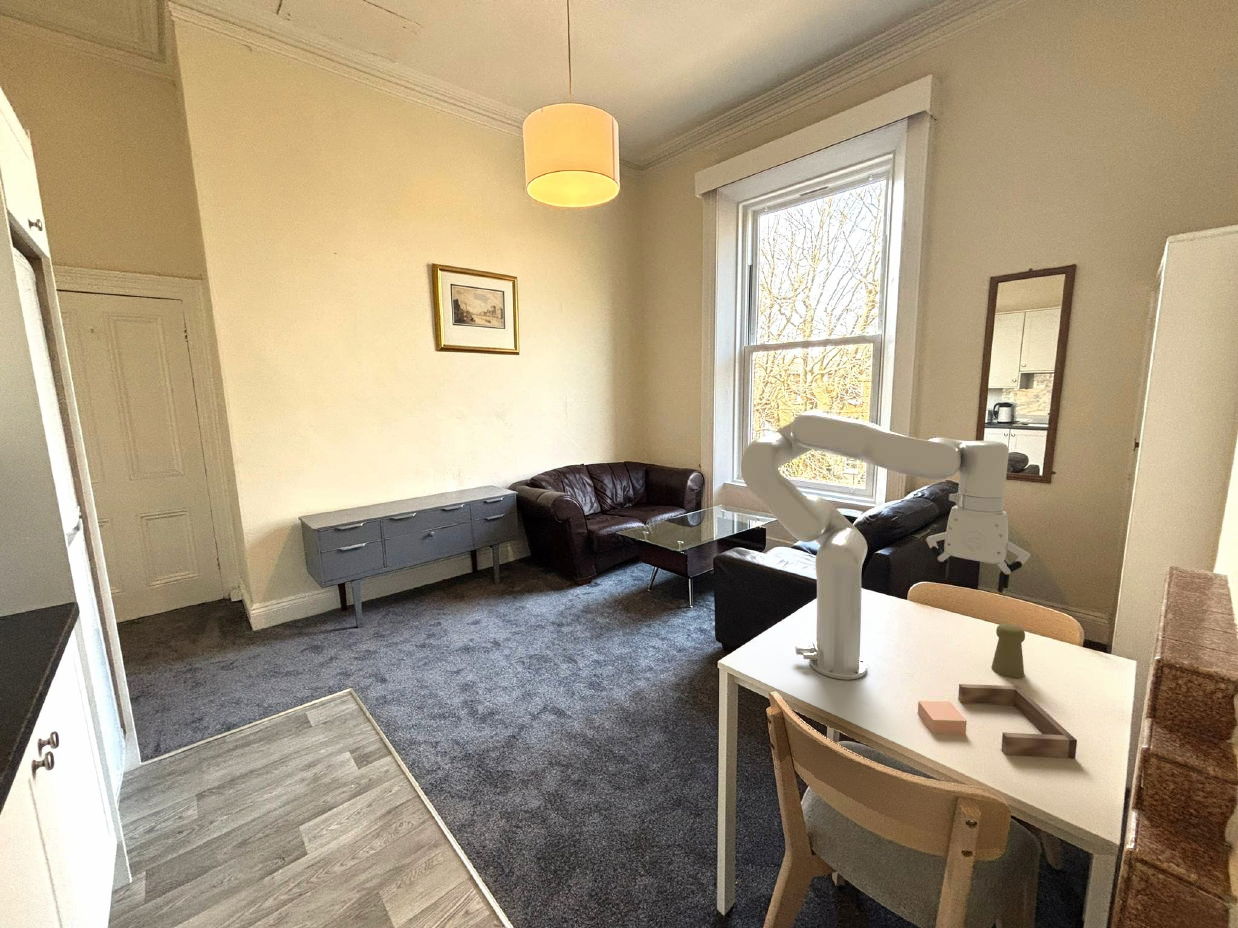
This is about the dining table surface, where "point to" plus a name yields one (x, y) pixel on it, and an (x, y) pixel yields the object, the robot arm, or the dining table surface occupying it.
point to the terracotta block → (942, 717)
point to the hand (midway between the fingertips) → (971, 584)
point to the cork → (1009, 651)
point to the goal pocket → (1042, 745)
